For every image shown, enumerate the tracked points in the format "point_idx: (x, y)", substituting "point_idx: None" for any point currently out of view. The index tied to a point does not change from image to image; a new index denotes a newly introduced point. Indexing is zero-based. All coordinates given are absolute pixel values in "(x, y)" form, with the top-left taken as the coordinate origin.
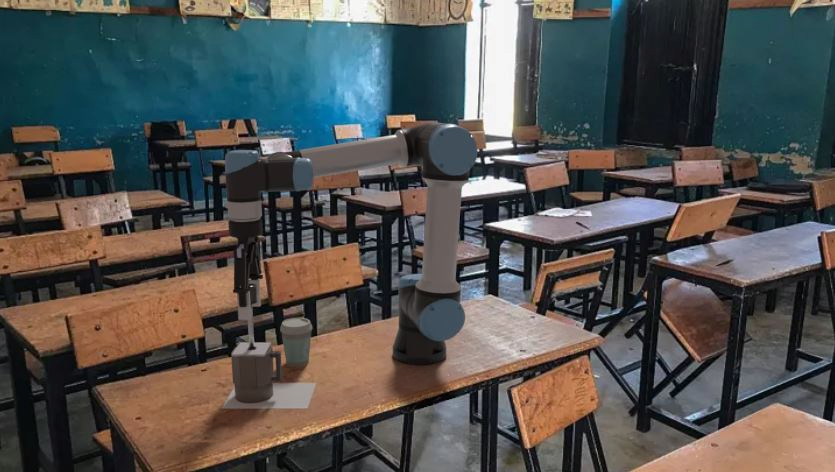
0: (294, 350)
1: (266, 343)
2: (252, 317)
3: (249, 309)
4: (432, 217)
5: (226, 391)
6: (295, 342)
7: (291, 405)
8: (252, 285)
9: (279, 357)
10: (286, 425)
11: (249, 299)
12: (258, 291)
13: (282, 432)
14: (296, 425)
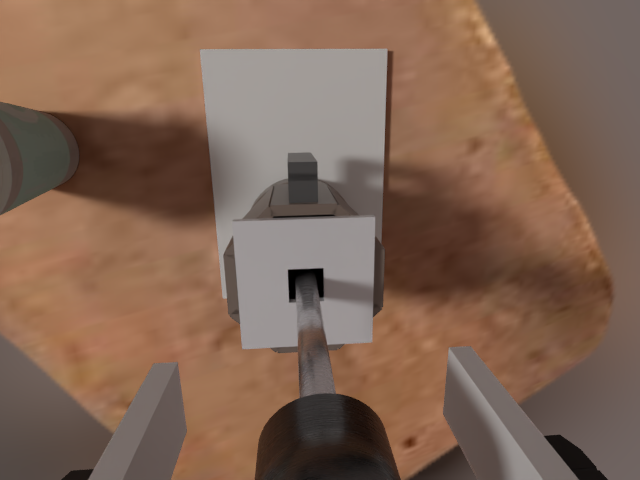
0: (46, 154)
1: (246, 239)
2: (319, 355)
3: (508, 397)
4: None
5: None
6: (26, 150)
7: (367, 104)
8: None
9: (315, 160)
10: (470, 98)
11: (561, 464)
12: (134, 464)
13: (507, 101)
14: (473, 68)
